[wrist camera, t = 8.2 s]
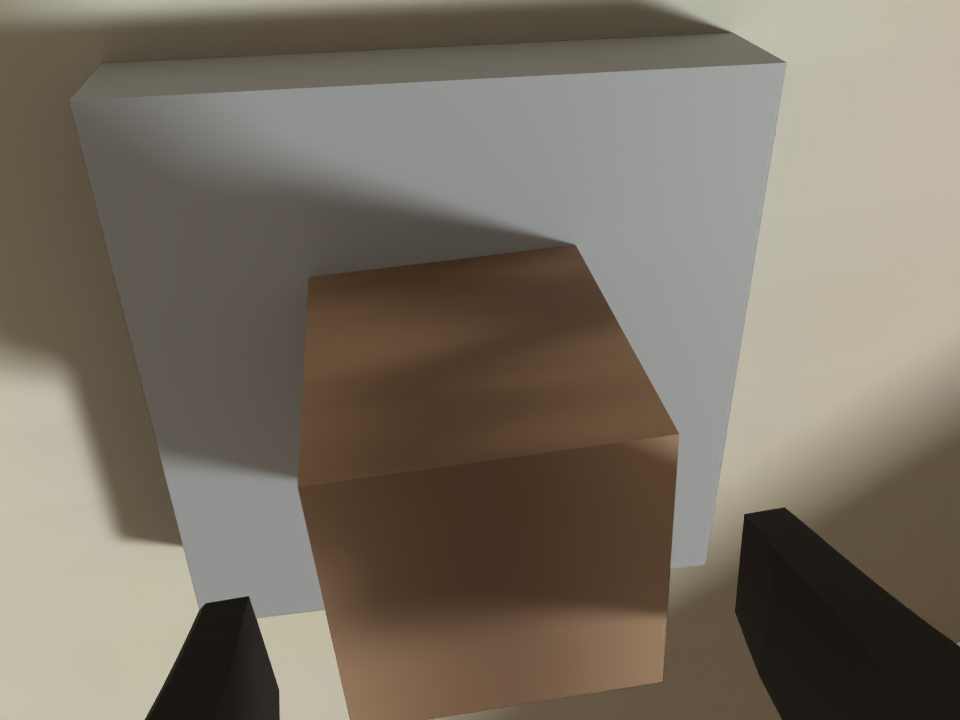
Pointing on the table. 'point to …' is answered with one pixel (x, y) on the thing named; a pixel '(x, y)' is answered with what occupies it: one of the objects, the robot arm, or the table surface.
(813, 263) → the table surface
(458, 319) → the walnut block
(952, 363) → the table surface
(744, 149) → the slate block
